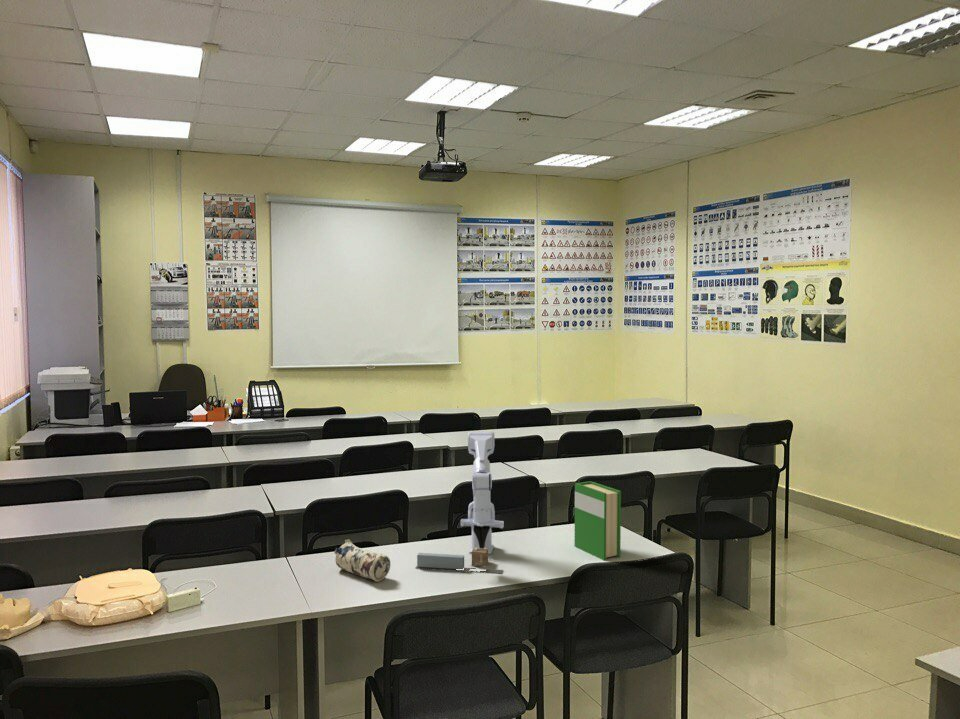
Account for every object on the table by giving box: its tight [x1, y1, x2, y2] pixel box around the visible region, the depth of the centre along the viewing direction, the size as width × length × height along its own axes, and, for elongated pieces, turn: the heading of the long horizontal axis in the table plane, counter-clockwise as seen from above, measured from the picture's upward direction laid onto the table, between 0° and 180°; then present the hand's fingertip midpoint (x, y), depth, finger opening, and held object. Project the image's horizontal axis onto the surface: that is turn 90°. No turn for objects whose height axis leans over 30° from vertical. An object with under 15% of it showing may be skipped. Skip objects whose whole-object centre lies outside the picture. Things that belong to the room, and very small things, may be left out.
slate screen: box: [416, 552, 465, 569], centre depth 247 cm, size 2×16×4 cm, turn 80°
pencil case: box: [334, 539, 391, 583], centre depth 241 cm, size 22×8×10 cm, turn 48°
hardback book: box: [574, 480, 622, 561], centre depth 264 cm, size 18×7×24 cm, turn 28°
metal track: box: [415, 565, 504, 575], centre depth 246 cm, size 3×30×1 cm, turn 80°
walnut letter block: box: [471, 547, 489, 567], centre depth 252 cm, size 5×5×5 cm
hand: (482, 547), depth 244 cm, fingers closed
